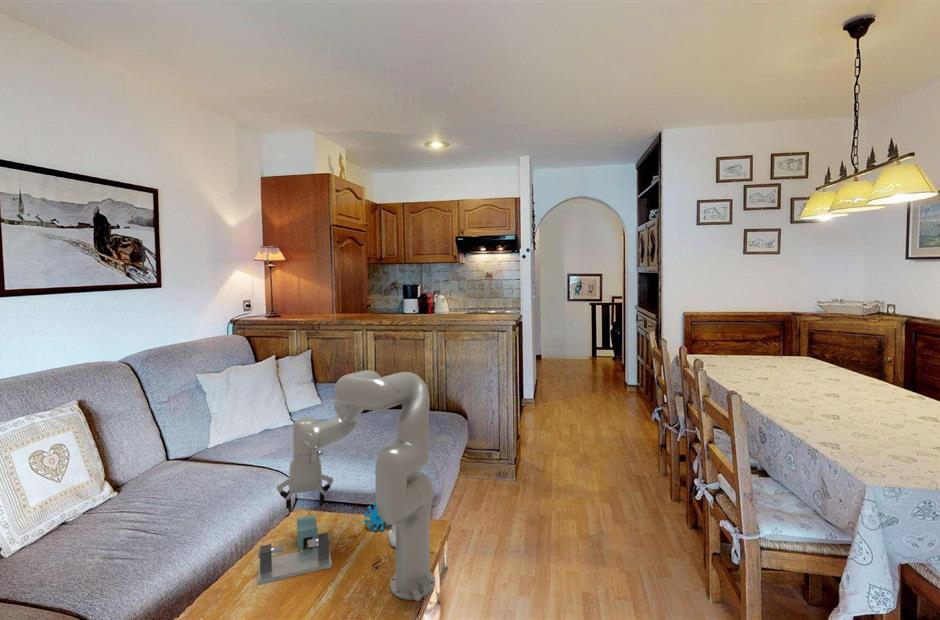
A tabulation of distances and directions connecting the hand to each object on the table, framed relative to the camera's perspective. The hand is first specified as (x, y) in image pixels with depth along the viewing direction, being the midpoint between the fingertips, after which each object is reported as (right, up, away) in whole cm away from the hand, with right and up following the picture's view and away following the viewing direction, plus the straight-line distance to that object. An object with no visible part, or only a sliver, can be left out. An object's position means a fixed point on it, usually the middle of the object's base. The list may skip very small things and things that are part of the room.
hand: (305, 507), depth 146 cm
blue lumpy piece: (+22, -11, +10) cm, 27 cm away
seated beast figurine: (+31, -12, 0) cm, 33 cm away
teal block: (0, -12, 0) cm, 12 cm away
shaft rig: (+2, -12, -12) cm, 17 cm away
